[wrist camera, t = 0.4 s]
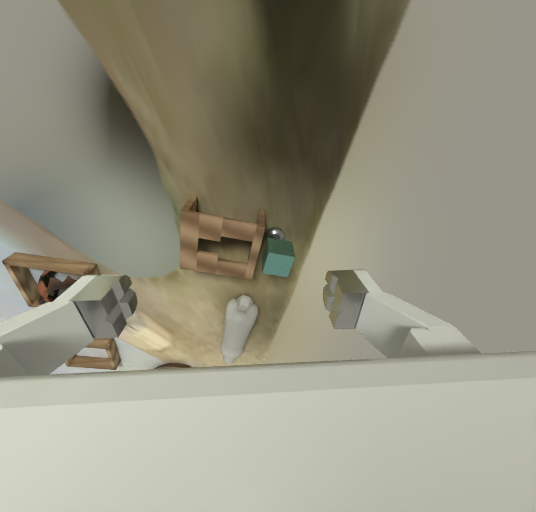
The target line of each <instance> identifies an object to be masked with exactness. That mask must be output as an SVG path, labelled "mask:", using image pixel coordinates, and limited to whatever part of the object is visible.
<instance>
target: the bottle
mask: <svg viewBox="0 0 536 512" xmlns="http://www.w3.org/2000/svg"><path fill="white" fill-rule="evenodd" d="M257 314H258V307H257V305H254V303H253V301H252V299H251V298H250V297H248V296H246V295H241V296H240V297H238V298H237V299H234V298H233V299H231V300H230V301H229V302H228V304H227V308H226V313H225V326H224V334H223V341H222V343H221V346H220V350H221V353H222V354H223V361H224V362H225V363H227V364H232V363H233V362H234V361H235V358H238V357H239V356H240V355H241V354H242V352H243V347H244V344H245V342H246V340H247V337H248V335H249V333H250V330H251V328H252V327H253V325H254V323H255V320H256V317H257Z"/></svg>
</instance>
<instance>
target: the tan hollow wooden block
mask: <svg viewBox="0 0 536 512" xmlns="http://www.w3.org/2000/svg"><path fill="white" fill-rule="evenodd" d="M196 207H197V196H193V195H191V196H190V198H189V199H188V201H187V202H186V204H185V205H184V207H183V208H182V210H181V226H180V269H185V270H192V271H198V272H205V273H212V274H218V275H225V276H231V277H238V278H245V279H251V280H252V277H253V273H254V269H255V265H256V262H257V258H258V254H259V250H260V246H261V242H262V239H263V235H264V231H265V211H264V210H261V209H259V213H258V217H257V221H256V223H251V222H246V221H241V220H236V219H231V218H226V217H221V216H216V215H210V214H205V213H200V212H196ZM221 236H223V237H229V238H234V239H240V240H245V241H251V242H252V243H251V247H250V252H249V256H248V263H243V262H236V261H230V260H224V259H218V256H219V254H218V253H212V252H206V251H200V250H198V247H199V238H202V239H208V240H214V241H219V242H220V240H221Z"/></svg>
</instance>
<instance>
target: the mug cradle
mask: <svg viewBox="0 0 536 512" xmlns="http://www.w3.org/2000/svg"><path fill="white" fill-rule="evenodd" d="M2 262H3V264H4V265H5V267H6V269H7V270H8V272H9V274H10V275H11V277H12V279H13V281H14V282H15V284H16V286H17V287H18V289H19V291H20V292H21V294H22V296H23V297H24V299H25V301H26V302H27V304H28V306H30V307H38V306H40V304H38V298H39V297H40V293H39V291H38V287H37V285H36V283H35V281H34V279H33V277H32V275H31V273H30V271H29V269H28V268H34V269H41V270H49V271H56V272H63V273H71V274H78V275H84V276H86V275H99V271H98V268H97V264H92V263H85V262H78V261H72V260H65V259H58V258H51V257H44V256H37V255H30V254H24V253H17V252H15V253H14V254H12V255H10V256H9V257H7V258H6V259H4V260H3V261H2ZM57 298H58V297H57Z"/></svg>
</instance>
